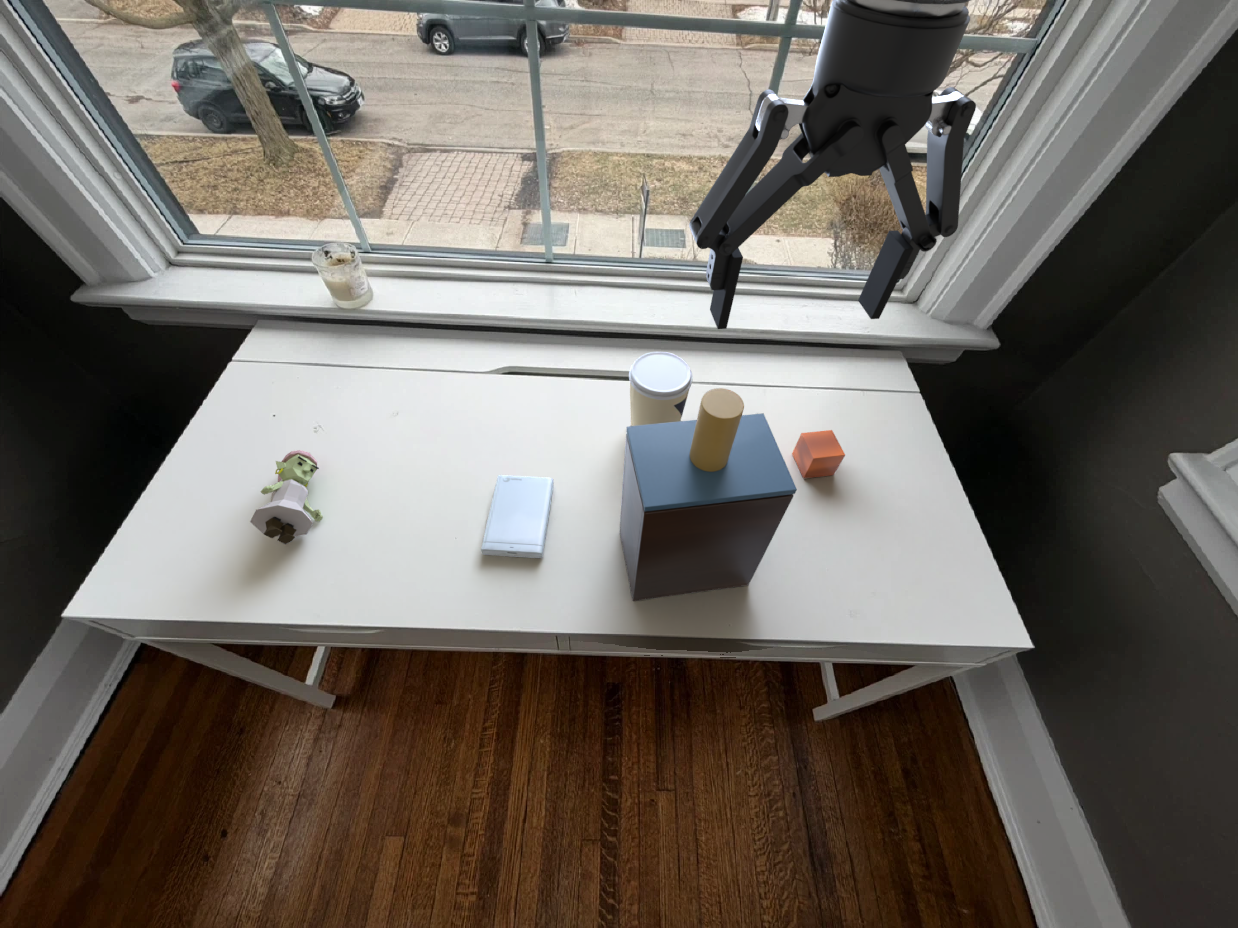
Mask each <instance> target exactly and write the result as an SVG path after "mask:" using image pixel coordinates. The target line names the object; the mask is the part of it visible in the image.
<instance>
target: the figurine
mask: <svg viewBox="0 0 1238 928" xmlns="http://www.w3.org/2000/svg"><path fill="white" fill-rule="evenodd" d="M275 465H276V469H275V472H274V474H275V475H277V482H276V483H273V484H271V485H266V486H264V487H263V488H262V489H261V491H260V493H261V494H262V495H268V494H271V496H270V500H269V501H270V502H268V503H266V504H264V505H262V506H260V507H258V508H257V509H255V510H254V513H253V515H252V517H251V519H250V521H249V522H250V523H251V525H253V526H254V527H255V528H256V529H257V530H258V531H259V532H260V533H261V534H262V535H264V536H266V537H268V538H270V539H274V538H277V539H276V541H277V542H279V543H281V544H283V545H288V544H289V543H293V541H294V540H295V539H296V537H300V536H304V535H307V534H308V532H309V531H310V530H311V527H312V526H313V524H314V522H313V520H312V519H314V521H315V522H317V523H320V522H321V521H322V520H323V518H324V516H323V514H322V512H321V510H320V509H315V510H314V509H313V508H312V507H311V506H310V504H309V500H308V496H309V490H308V489H307V487H308V485H309V482H310V481H311V479H312V478H313V476H314V475H315V473H316V471H317V470H320V468H319V467H318V461H317V460H316V459H315V457H314V456H313V455H312V454H311V452H308V451H305V450H301V449H296V450H291V451H290V452H288V453H287V454H286V455H285V456H284V457H283V459H282V460H281V461H278V460H275ZM307 513H308V514H309V515H310V516H309V515H308V514H307ZM310 517H311V518H312V519H311V518H310Z"/></svg>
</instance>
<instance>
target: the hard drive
mask: <svg viewBox="0 0 1238 928" xmlns="http://www.w3.org/2000/svg"><path fill="white" fill-rule="evenodd" d="M496 478H497V479H496V481H495V482H496V483H495V487H494V491H493V495H492V499H491V505H490V508H489V512H488V516H487V520H486V524H485V525H486V526H485V530H484V533H483V538H482V542H481V543H482V544H481V548H480V552H481V555H483V556H484V555H485V556H498V557H499V556H500V557H512V558H513V557H515V558H529V559H530V558H531V559H542V558H543V556H544V549H545V543H546V536H547V532H548V531H547V530H548V524H549V518H550V512H551V511H550V510H551V503H552V497H553V490H554V483H555V482H554V478H552V477H546V476H545V477H544V476H543V477H542V476H527V475H509V474H508V475H507V474H499V475H497V477H496Z"/></svg>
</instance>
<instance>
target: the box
mask: <svg viewBox="0 0 1238 928" xmlns="http://www.w3.org/2000/svg"><path fill="white" fill-rule="evenodd" d="M623 461H624V462H623V473H622V488H621V489H622V490H621V501H620V515H619V517H620V518H619V537H620V540H621V546H622V553H623V558H624V562H625V568H626V573H627V579H628V584H629V590H630V595H631V600H632V601H631V602H638V601H639V602H640V601H646V600H652V599H653V600H654V599H660V598H668V597H676V596H683V595H689V594H696V593H697V594H698V593H703V592H711V591H716V590H717V591H718V590H725V589H726V590H727V589H733V588H739V587H745V586H746V587H747V586H749V585H750V583H751V581H752V579H753V577H754V575H755V574H756V571H757V570H758V568H759V565H760V564H761V562H762V559H763V557H764V556H765V554H766V551H768V548H769V546H770V544H771V542H772V540H773V539H774V536H775V534H776V532H777V531H778V528H779V526H780V524H781V522H782V521H783V518H784V516H785V514H786V512H787V510H788V508H789V506H790V504H791V502H792V500H793V498H794V494H790V495H782V496H773V497H765V498H756V499H748V500H739V501H731V502H722V503H714V504H705V505H697V506H688V507H680V508H671V509H663V510H654V511H646V512H645V511H644V508H643V503H642V499H641V494H640V490H639V485H638V481H637V476H636V472H635V467H634V463H633V459H632V454H631V450H630V445H629V441H628V436H627V433H626V434H625V444H624V459H623Z"/></svg>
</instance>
